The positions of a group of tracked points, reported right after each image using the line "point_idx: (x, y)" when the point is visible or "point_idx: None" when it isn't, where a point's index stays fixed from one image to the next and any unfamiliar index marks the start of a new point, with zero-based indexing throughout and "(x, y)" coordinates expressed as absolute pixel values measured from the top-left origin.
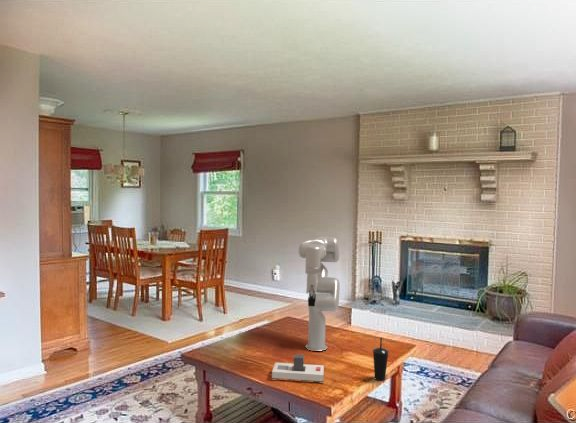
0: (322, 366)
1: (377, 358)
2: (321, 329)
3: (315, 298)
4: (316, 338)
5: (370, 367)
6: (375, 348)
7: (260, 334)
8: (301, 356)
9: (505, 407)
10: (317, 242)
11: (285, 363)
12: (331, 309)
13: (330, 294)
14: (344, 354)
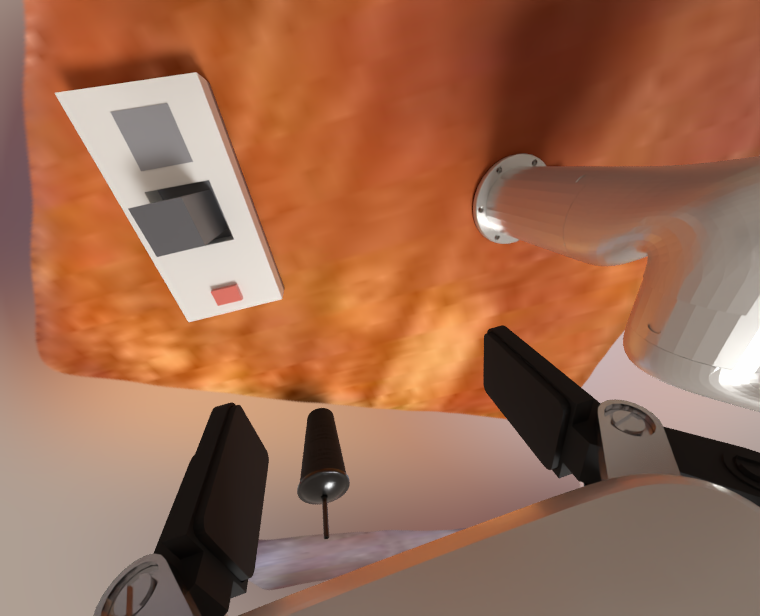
0: (269, 297)
1: (301, 469)
2: (543, 243)
3: (511, 420)
4: (511, 215)
5: (388, 383)
6: (327, 480)
7: None
8: (173, 241)
9: (288, 569)
10: None
11: (215, 136)
12: (628, 331)
13: None
14: (469, 302)
